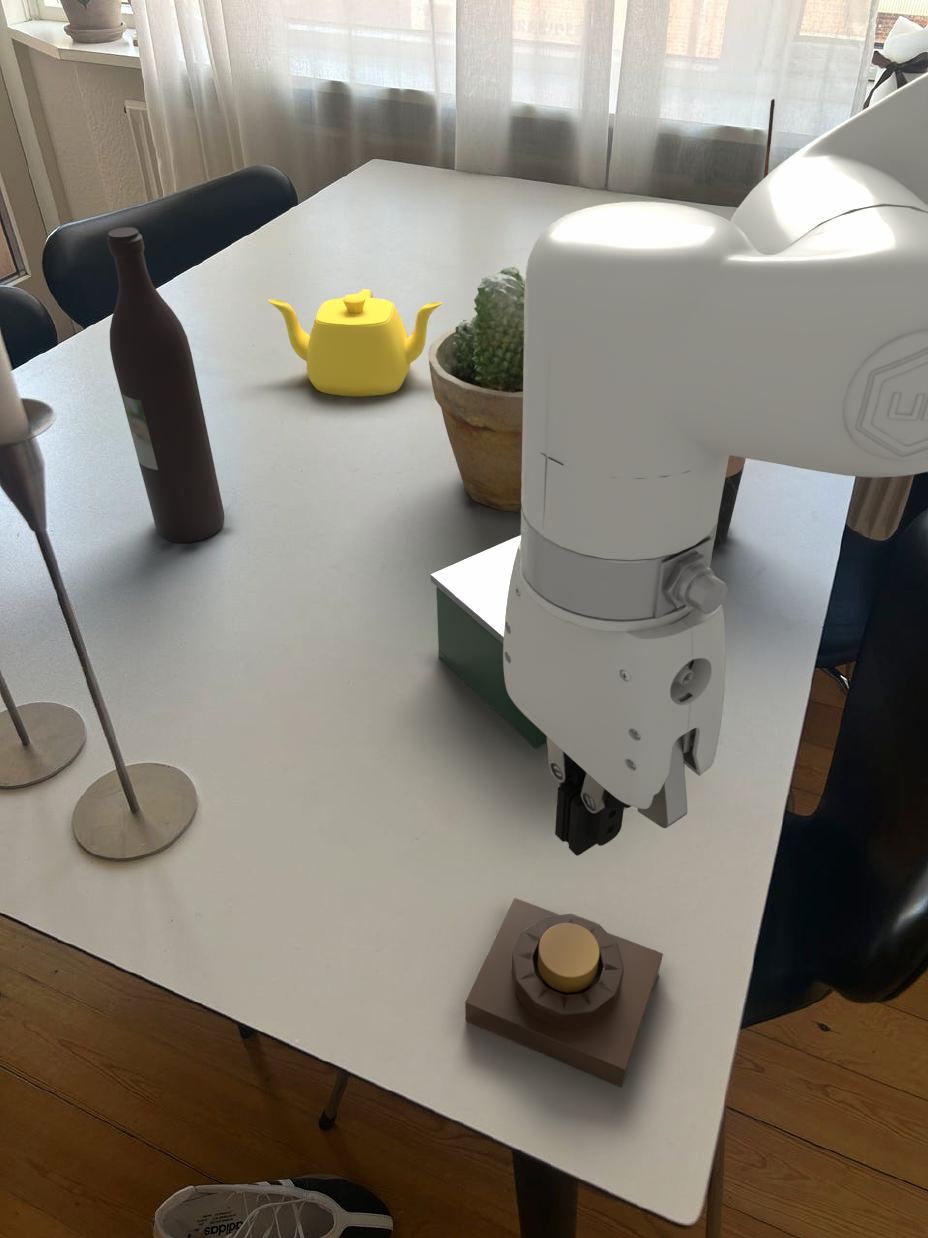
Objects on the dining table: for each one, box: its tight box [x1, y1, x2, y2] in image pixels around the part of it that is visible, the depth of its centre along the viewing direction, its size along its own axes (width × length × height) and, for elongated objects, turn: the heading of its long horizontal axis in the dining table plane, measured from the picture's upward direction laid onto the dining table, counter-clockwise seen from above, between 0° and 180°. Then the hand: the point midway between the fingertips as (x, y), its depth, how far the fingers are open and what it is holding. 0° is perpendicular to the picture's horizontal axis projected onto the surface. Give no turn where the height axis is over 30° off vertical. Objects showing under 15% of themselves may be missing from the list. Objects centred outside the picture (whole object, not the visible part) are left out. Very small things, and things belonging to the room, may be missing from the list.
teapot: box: [267, 288, 443, 397], centre depth 125 cm, size 22×16×11 cm
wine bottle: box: [106, 226, 225, 544], centre depth 91 cm, size 7×7×30 cm
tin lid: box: [430, 534, 521, 644], centre depth 78 cm, size 14×12×1 cm
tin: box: [435, 586, 547, 749], centre depth 81 cm, size 14×12×8 cm
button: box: [538, 923, 600, 993], centre depth 58 cm, size 4×4×2 cm
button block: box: [464, 897, 664, 1088], centre depth 59 cm, size 10×8×4 cm
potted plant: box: [427, 266, 525, 513], centre depth 98 cm, size 18×19×25 cm
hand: (588, 832), depth 50 cm, fingers closed
